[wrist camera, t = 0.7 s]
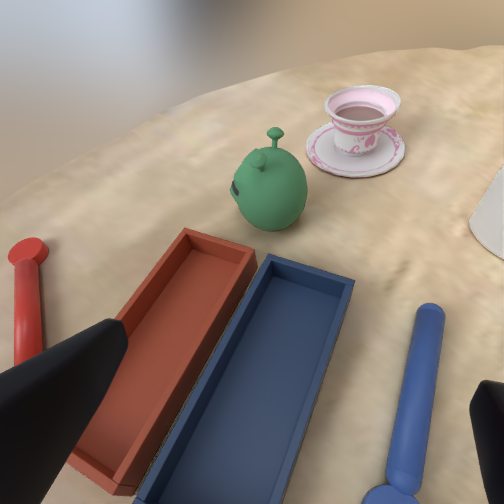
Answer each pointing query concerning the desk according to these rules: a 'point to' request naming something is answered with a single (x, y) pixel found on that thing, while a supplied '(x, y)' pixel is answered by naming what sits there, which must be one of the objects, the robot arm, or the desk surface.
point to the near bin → (254, 393)
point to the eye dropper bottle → (491, 217)
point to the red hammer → (27, 298)
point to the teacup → (358, 133)
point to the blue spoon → (413, 412)
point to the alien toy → (270, 186)
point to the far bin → (162, 355)
